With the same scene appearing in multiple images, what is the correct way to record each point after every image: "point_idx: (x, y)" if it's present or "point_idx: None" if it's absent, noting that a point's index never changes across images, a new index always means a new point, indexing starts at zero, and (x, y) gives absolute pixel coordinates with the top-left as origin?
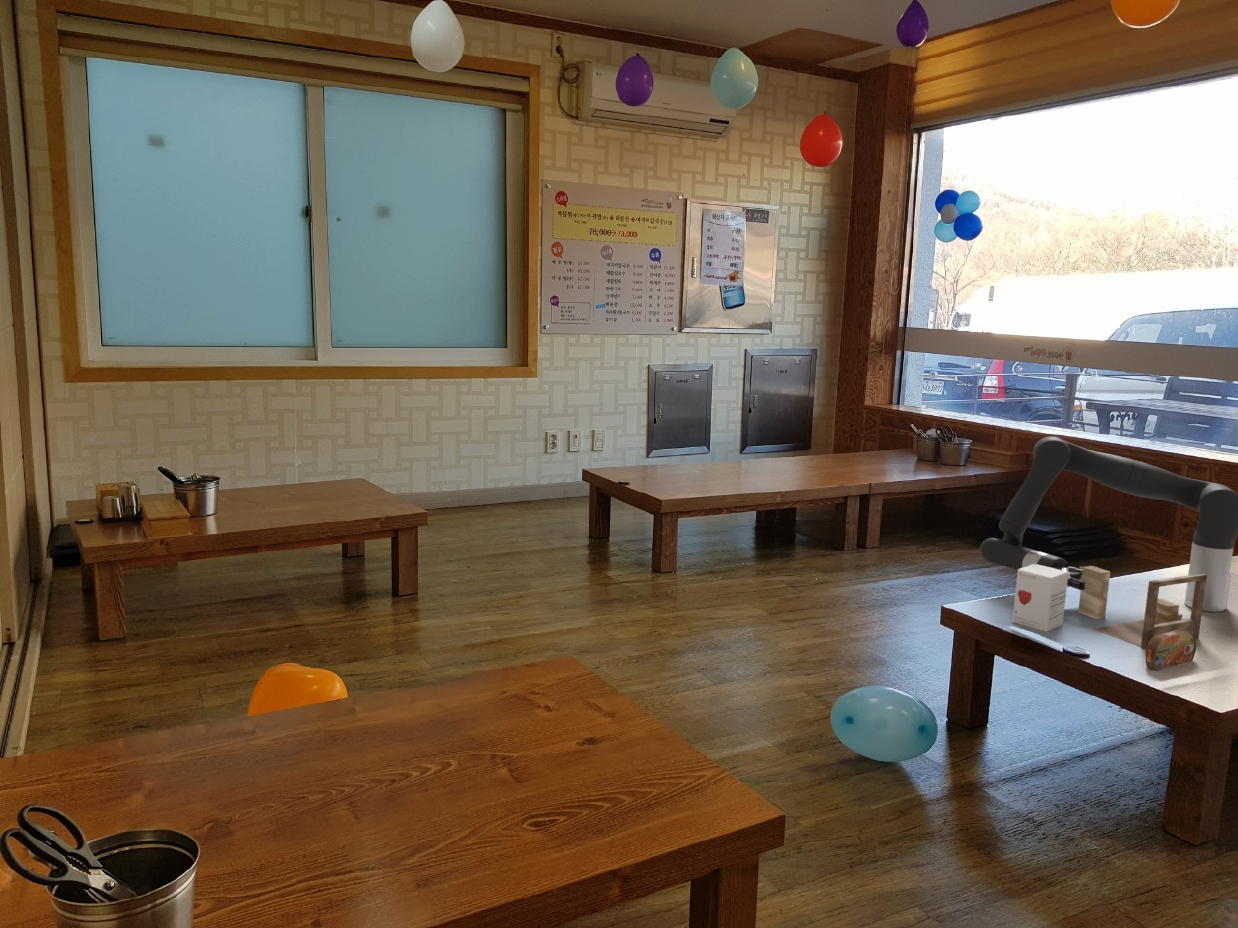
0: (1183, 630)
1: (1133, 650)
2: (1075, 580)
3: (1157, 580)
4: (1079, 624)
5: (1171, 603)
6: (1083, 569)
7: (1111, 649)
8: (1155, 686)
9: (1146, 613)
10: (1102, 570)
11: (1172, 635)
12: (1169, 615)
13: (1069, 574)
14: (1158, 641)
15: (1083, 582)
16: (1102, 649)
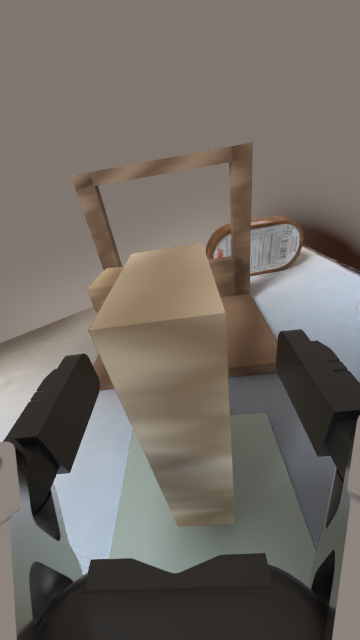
0: None
1: (256, 305)
2: (329, 373)
3: (226, 147)
4: (288, 438)
5: (109, 272)
6: (224, 333)
7: (299, 310)
8: (308, 252)
9: (250, 227)
10: (151, 262)
11: (259, 220)
12: None
13: (351, 494)
14: (290, 219)
15: (290, 331)
16: (319, 311)
